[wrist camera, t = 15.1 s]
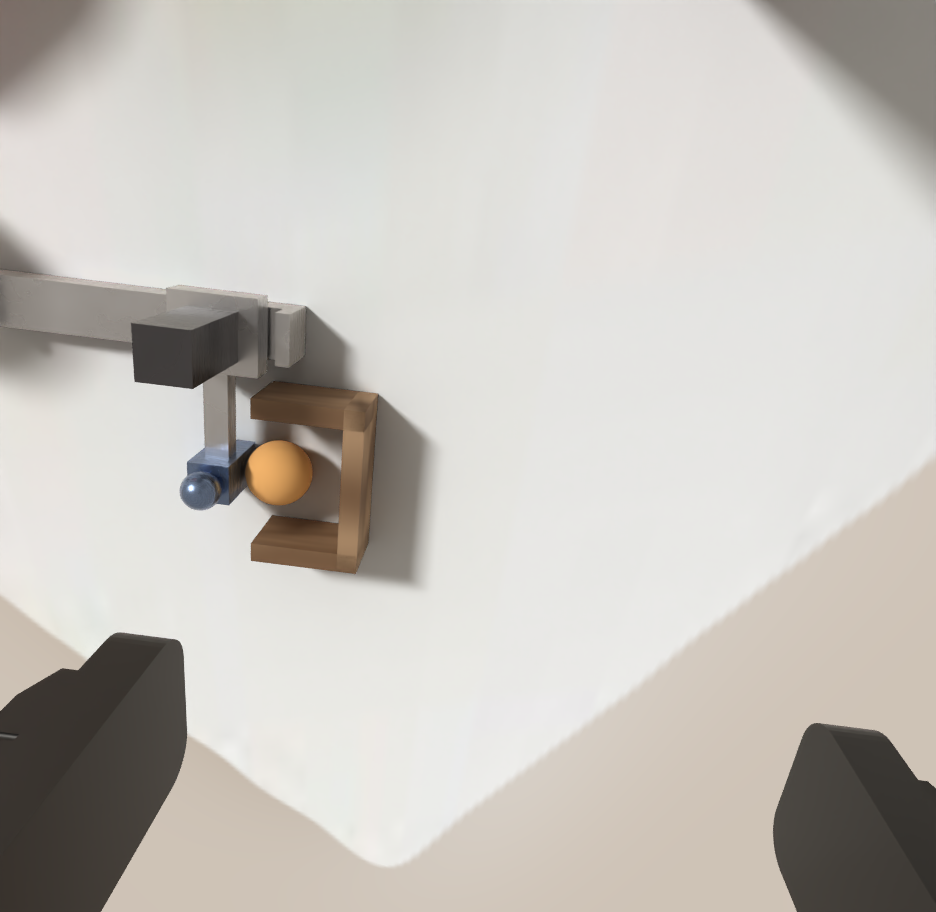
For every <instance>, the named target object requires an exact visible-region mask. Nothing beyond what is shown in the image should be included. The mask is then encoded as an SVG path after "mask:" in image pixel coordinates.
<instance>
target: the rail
mask: <svg viewBox="0 0 936 912" xmlns="http://www.w3.org/2000/svg"><path fill="white" fill-rule="evenodd" d="M164 312H167V302H166V289H159V288H151V287H143V286H135V285H126V284H118V283H110V282H101V281H93V280H85V279H77V278H68V277H60V276H52V275H43V274H35V273H27V272H18V271H10V270H2V269H0V327H9V328H17V329H25V330H33V331H41V332H50V333H58V334H66V335H74V336H83V337H91V338H99V339H107V340H115V341H124V342H132V333H131V323H132V322H136V321H139V320H142V319H145V318H148V317H152V316H155V315H158V314H161V313H164ZM305 330H306V306H301V305H292V304H284V303H276V302H268V329H267V359H272V360H275V366H277V367H286V368H289V367H291V366H292V365H293V364H295V363H296V362H297V361H299V360H300V359H302V358H303V357H304V356H305Z"/></svg>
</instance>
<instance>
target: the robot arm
mask: <svg viewBox="0 0 936 912" xmlns="http://www.w3.org/2000/svg"><path fill="white" fill-rule="evenodd" d="M186 741H187V721H186V699H185V677H184V656H183V649H182V645H181V643H180V642H179V641H178V640H175V639H167V638H160V637H152V636H144V635H136V634H128V633H115V634H113V635H112V636H110V637H109V638H108V639H107V640H106V641H105V642H104V643H103V644H102V645H101V646H100V647H99V648H98V649H97V651H96V652H95V653H94V654H93V655H92V656H91V657H90V658H89V659H88V660H87V661H86V662H85V664H84V665H83V666H82V667H81V668H80V669H79V670H70V669H60V670H59V671H57V672H55V673H53V674H52V675H50V676H48V677H47V678H45V679H43V680H41V681H40V682H38V683H36V684H35V685H33V686H31V687H29V688H28V689H26V690H24V691H23V692H21V693H19V694H18V695H16V696H15V697H14V698H13V699H12V700H11V701H10V702H9V703H8V704H7V705H6V706H5V707H4V708H3V709H2V710H1V711H0V912H101V911H102V909H103V907H104V905H105V904H106V902H107V900H108V898H109V897H110V895H111V893H112V892H113V890H114V888H115V886H116V884H117V883H118V881H119V879H120V878H121V876H122V874H123V872H124V871H125V869H126V867H127V865H128V864H129V862H130V860H131V858H132V857H133V855H134V853H135V852H136V849H137V848H138V846H139V844H140V843H141V841H142V839H143V837H144V836H145V834H146V832H147V831H148V829H149V827H150V825H151V824H152V822H153V820H154V819H155V817H156V815H157V813H158V812H159V810H160V808H161V806H162V804H163V803H164V801H165V799H166V798H167V796H168V794H169V792H170V791H171V789H172V787H173V785H174V783H175V781H176V779H177V776H178V773H179V771H180V768H181V765H182V761H183V758H184V753H185V748H186ZM773 837H774V848H775V854H776V858H777V862H778V865H779V868H780V871H781V874H782V876H783V878H784V881H785V883H786V886H787V888H788V890H789V893H790V895H791V898H792V900H793V903H794V905H795V908H796V910H797V912H936V788H935V787H934V786H932V785H931V784H930V783H929V782H927V781H921V780H918V779H917V778H916V777H915V775H914V774H913V772H912V771H911V769H910V768H909V767H908V765H907V764H906V763H905V761H904V760H903V758H902V757H901V756H900V754H899V753H898V751H897V750H896V748H895V747H894V746H893V744H892V743H891V742H890V740H889V739H888V738H887V737H886V736H885V735H883V734H882V733H880V732H879V731H875V730H868V729H860V728H851V727H844V726H836V725H828V724H820V723H814V724H812V725H810V726H809V727H808V728H807V730H806V731H805V733H804V735H803V737H802V740H801V743H800V745H799V748H798V751H797V754H796V757H795V760H794V762H793V765H792V768H791V770H790V773H789V776H788V779H787V781H786V784H785V787H784V790H783V792H782V795H781V798H780V801H779V804H778V806H777V809H776V813H775V818H774V825H773Z"/></svg>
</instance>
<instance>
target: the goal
mask: <svg viewBox="0 0 936 912" xmlns="http://www.w3.org/2000/svg"><path fill="white" fill-rule="evenodd" d="M377 403H378V394H376V393H368V392H360V391H351V390H343V389H335V388H327V387H319V386H311V385H302V384H294V383H286V382H278V381H273V382H272V383H270V384H269V385H268V386H266V387H265V388H264V389H262V390H261V391H260V392H258V393H257V394H256V395H254V396H253V397H252V398H251V419H257V420H266V421H274V422H282V423H290V424H298V425H306V426H314V427H323V428H331V429H339V430H343V443H342V464H341V485H340V506H339V524H338V523H330V522H322V521H314V520H306V519H298V518H290V517H282V516H274V515H272V516H271V518H270V519H269V520H268V522H267V523H266V524H265V526H264V527H263V528H262V530H261V531H260V532H259V533H258V535H257V536H256V537H255V539H254V540H253V541H252V543H251V561H257V562H265V563H273V564H281V565H289V566H297V567H305V568H313V569H321V570H329V571H337V572H345V573H353V574H356V572H357V570H358V567H359V565H360V562H361V560H362V557H363V555H364V553H365V550H366V548H367V545H368V540H369V524H370V509H371V494H372V479H373V464H374V449H375V433H376V418H377Z"/></svg>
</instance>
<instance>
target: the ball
mask: <svg viewBox="0 0 936 912" xmlns="http://www.w3.org/2000/svg"><path fill="white" fill-rule="evenodd" d="M312 475H313V469H312V464H311V461H310V459H309V457H308V455H307V454H306V453H305V452H304V450H303V449H301V448H300V447H299V446H297V445H296V444H293V443H291V442H288V441H282V440H276V441H271V442H267V443H265V444H263V445H261V446H259V447H258V448H257V449H256V450H255V451H254V452H253V453H252V454H251V455H250V457H249V459H248V461H247V464H246V469H245V478H246V482H247V485H248V487H249V489H250V491H251V492H252V493H253V494H254V495H255V496H256V497H257V498H258V499H259V500H261V501H263V502H265V503H268V504H271V505H286V504H290V503H293V502H295V501H296V500H298V499H299V498H301V497H302V496H303V495H304V494H305V493H306V491H307V490H308V488H309V486H310V484H311V481H312Z"/></svg>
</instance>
